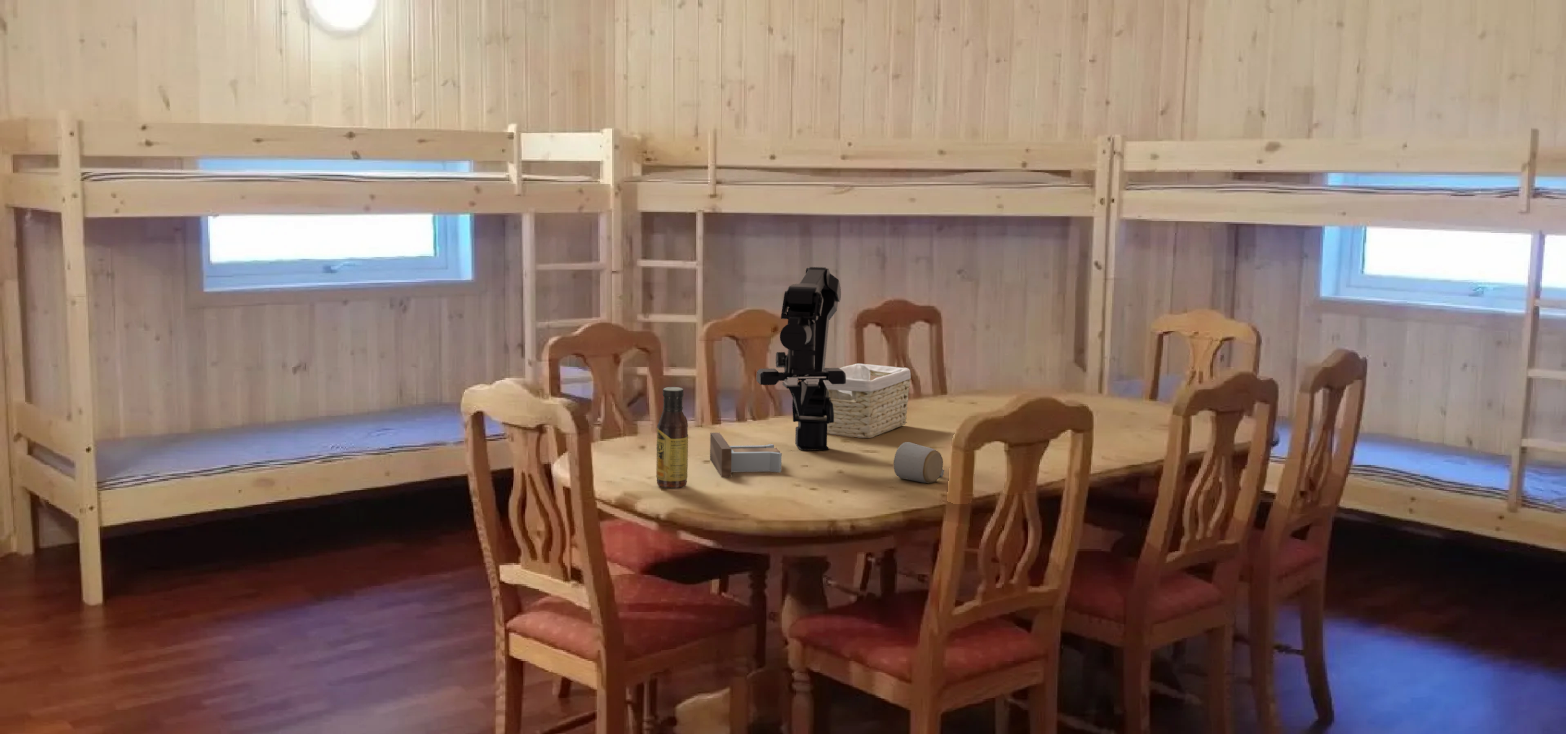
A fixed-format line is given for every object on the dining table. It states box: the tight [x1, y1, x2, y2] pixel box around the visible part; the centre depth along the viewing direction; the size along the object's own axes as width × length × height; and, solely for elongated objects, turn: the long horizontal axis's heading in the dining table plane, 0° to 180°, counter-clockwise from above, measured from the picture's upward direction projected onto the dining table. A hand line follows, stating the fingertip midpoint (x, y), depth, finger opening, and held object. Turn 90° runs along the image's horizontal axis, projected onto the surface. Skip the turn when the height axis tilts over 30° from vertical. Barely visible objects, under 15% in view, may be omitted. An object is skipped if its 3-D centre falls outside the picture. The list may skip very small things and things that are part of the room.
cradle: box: [729, 443, 783, 473], centre depth 308 cm, size 11×11×4 cm
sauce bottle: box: [655, 386, 689, 489], centre depth 288 cm, size 6×6×20 cm
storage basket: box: [824, 363, 912, 439], centre depth 354 cm, size 24×16×15 cm
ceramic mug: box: [893, 441, 945, 484], centre depth 299 cm, size 11×8×8 cm
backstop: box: [709, 432, 732, 478], centre depth 306 cm, size 2×18×6 cm, turn 10°
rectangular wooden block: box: [732, 447, 781, 453], centre depth 308 cm, size 10×4×4 cm, turn 100°
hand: (800, 415), depth 313 cm, fingers closed
